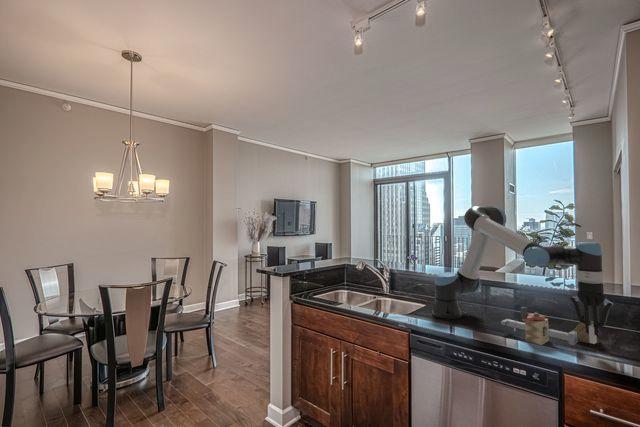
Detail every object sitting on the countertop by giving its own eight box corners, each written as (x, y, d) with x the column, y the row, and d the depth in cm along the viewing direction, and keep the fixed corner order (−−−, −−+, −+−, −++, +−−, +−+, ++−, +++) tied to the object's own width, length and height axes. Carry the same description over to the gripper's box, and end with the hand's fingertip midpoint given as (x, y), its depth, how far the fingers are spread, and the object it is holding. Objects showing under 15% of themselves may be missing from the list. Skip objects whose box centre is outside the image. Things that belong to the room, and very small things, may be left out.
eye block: (525, 340, 137) (524, 319, 137) (533, 336, 142) (532, 315, 142) (541, 345, 132) (540, 322, 132) (548, 340, 137) (548, 319, 137)
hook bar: (501, 327, 146) (501, 318, 147) (507, 325, 150) (507, 315, 150) (572, 345, 124) (572, 334, 124) (578, 342, 128) (577, 331, 128)
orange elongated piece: (534, 315, 141) (533, 303, 141) (548, 319, 136) (547, 306, 136) (515, 319, 136) (515, 306, 137) (529, 323, 131) (529, 309, 131)
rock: (566, 336, 135) (596, 339, 128) (565, 317, 140) (594, 319, 133) (572, 346, 141) (601, 349, 134) (571, 328, 145) (599, 330, 138)
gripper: (566, 280, 125) (569, 339, 124) (609, 285, 115) (612, 350, 114) (573, 278, 130) (575, 335, 129) (615, 282, 119) (618, 345, 118)
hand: (593, 342), depth 121 cm, fingers closed
